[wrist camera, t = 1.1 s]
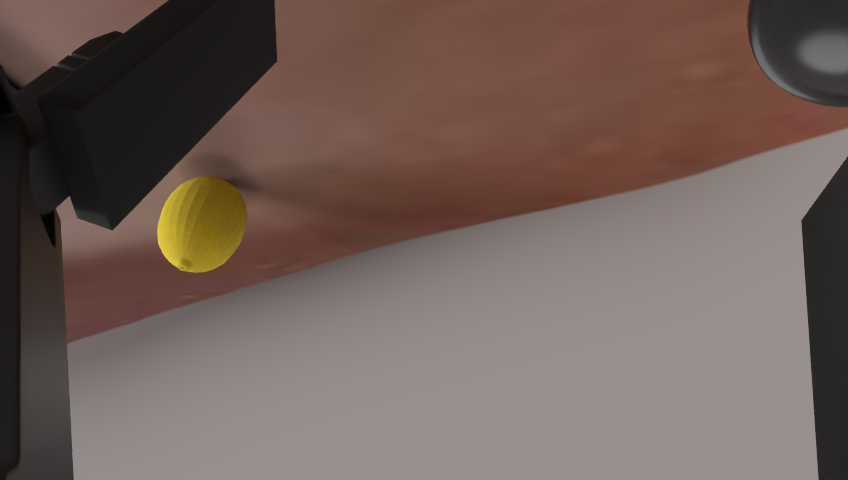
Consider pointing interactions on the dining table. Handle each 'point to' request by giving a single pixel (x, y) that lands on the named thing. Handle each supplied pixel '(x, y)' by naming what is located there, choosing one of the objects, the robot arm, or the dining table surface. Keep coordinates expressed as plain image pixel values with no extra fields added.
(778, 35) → the drinking cup
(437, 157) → the dining table surface
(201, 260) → the lemon
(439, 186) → the dining table surface
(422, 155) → the dining table surface
